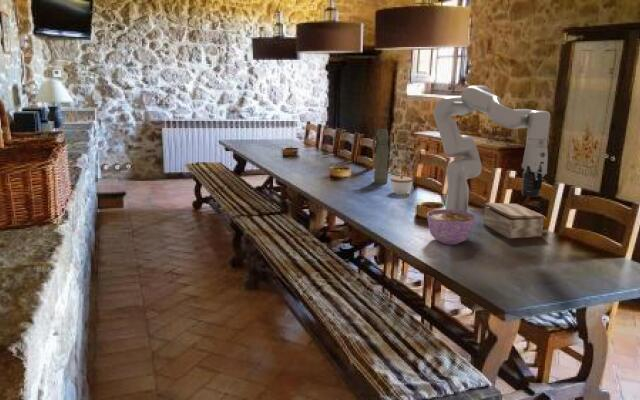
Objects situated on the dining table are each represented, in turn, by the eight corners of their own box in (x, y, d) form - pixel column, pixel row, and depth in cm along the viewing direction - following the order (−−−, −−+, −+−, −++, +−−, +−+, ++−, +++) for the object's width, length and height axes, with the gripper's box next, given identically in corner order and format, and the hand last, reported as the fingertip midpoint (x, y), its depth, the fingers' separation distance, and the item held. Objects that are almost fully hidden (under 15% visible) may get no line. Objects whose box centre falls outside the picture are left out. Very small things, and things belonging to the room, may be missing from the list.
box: (507, 238, 218) (509, 220, 216) (483, 223, 239) (484, 207, 237) (541, 236, 220) (543, 218, 218) (514, 222, 241) (516, 206, 239)
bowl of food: (438, 231, 227) (439, 206, 224) (481, 240, 215) (483, 214, 212) (416, 242, 212) (418, 216, 209) (461, 252, 200) (463, 224, 197)
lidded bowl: (413, 195, 295) (414, 177, 292) (391, 195, 295) (392, 177, 292) (409, 191, 307) (410, 173, 304) (389, 190, 307) (389, 173, 304)
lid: (509, 218, 216) (510, 215, 215) (485, 205, 237) (485, 203, 236) (543, 218, 218) (544, 215, 218) (516, 206, 239) (516, 203, 239)
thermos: (392, 183, 329) (394, 129, 321) (375, 184, 325) (377, 130, 316) (385, 180, 337) (387, 128, 329) (369, 181, 333) (371, 128, 324)
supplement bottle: (524, 192, 206) (527, 163, 203) (541, 194, 202) (545, 165, 199) (518, 195, 201) (522, 165, 198) (536, 198, 197) (540, 167, 194)
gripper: (559, 145, 188) (553, 192, 193) (532, 139, 205) (527, 182, 209) (540, 146, 187) (535, 192, 192) (515, 140, 204) (511, 183, 208)
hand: (531, 187), depth 201 cm, fingers closed on supplement bottle, 6 cm apart
